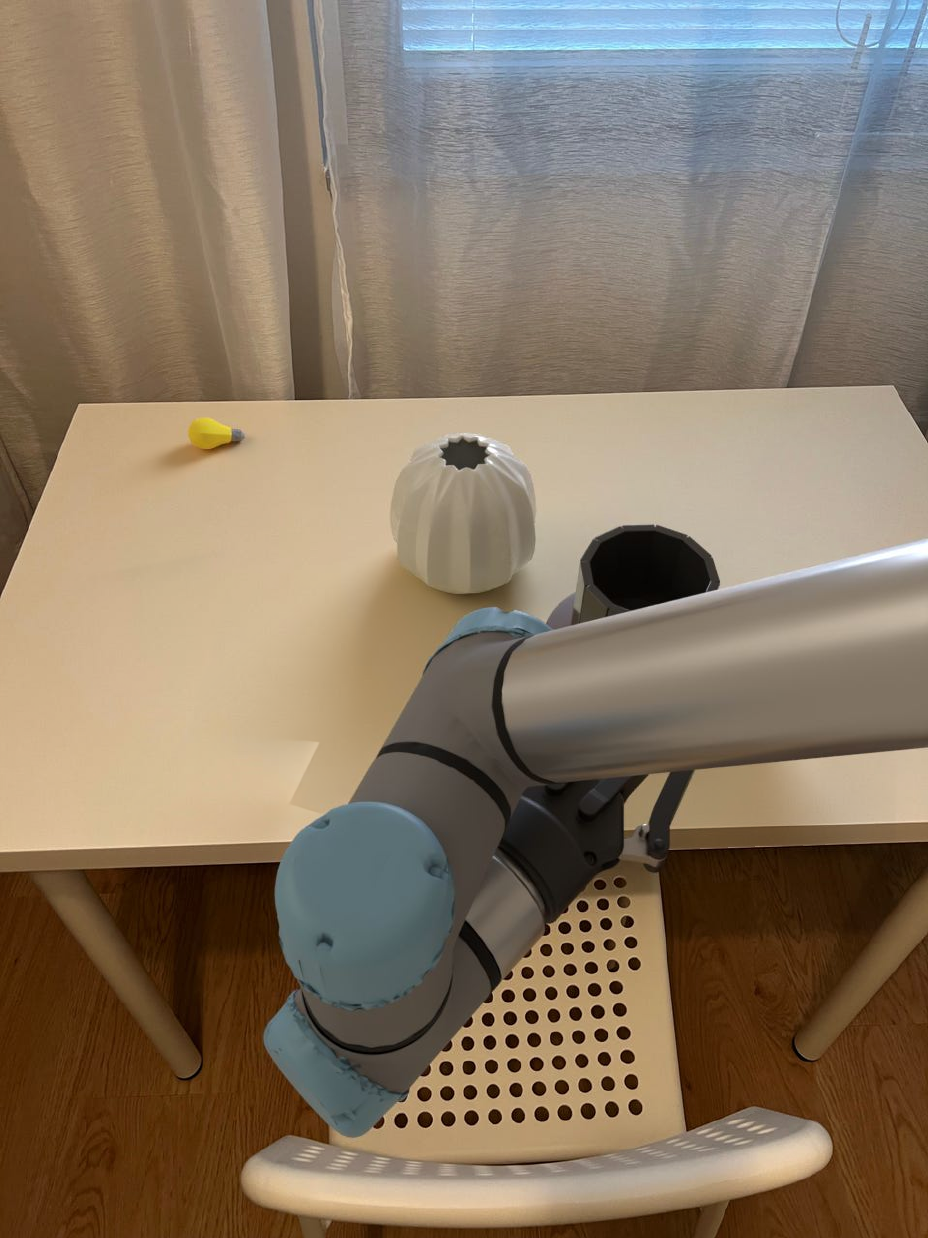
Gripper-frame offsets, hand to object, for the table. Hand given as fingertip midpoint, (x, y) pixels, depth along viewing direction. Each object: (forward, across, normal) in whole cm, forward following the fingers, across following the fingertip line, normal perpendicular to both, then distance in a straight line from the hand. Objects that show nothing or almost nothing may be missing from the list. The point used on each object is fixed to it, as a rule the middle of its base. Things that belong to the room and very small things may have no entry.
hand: (719, 651), depth 66 cm
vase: (+5, -29, -14) cm, 33 cm away
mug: (+6, -8, -13) cm, 16 cm away
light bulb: (0, -61, -14) cm, 62 cm away
